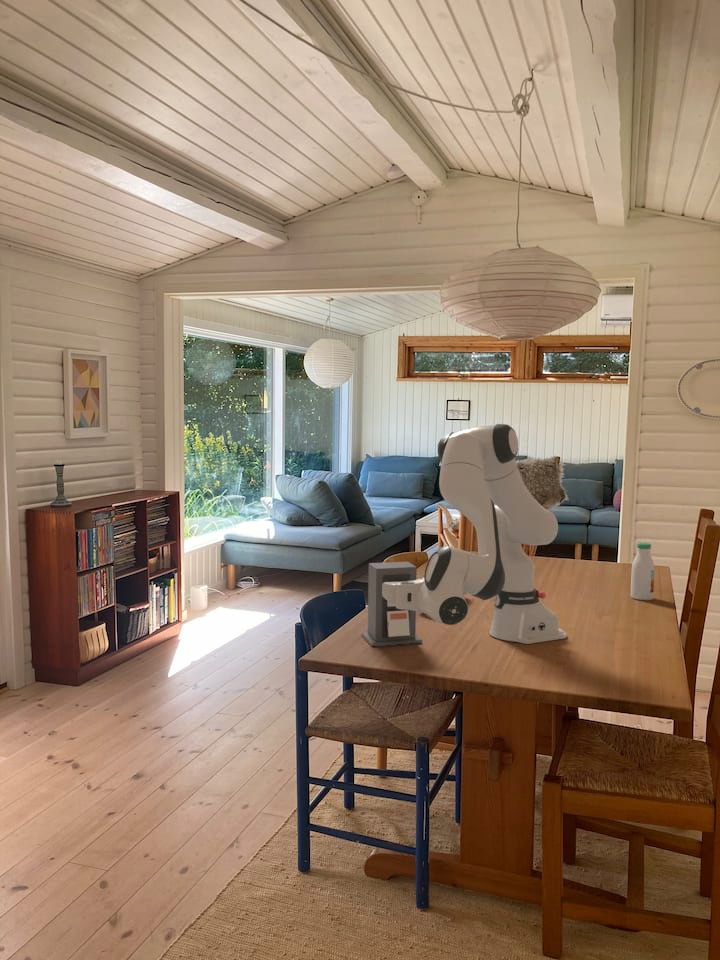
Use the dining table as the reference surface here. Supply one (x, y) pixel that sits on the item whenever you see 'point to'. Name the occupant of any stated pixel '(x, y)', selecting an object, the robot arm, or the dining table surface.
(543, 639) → the robot arm
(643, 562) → the milk bottle
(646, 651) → the dining table surface
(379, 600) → the grey framed tower stand
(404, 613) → the lower rocker
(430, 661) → the dining table surface
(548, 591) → the dining table surface
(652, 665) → the dining table surface
